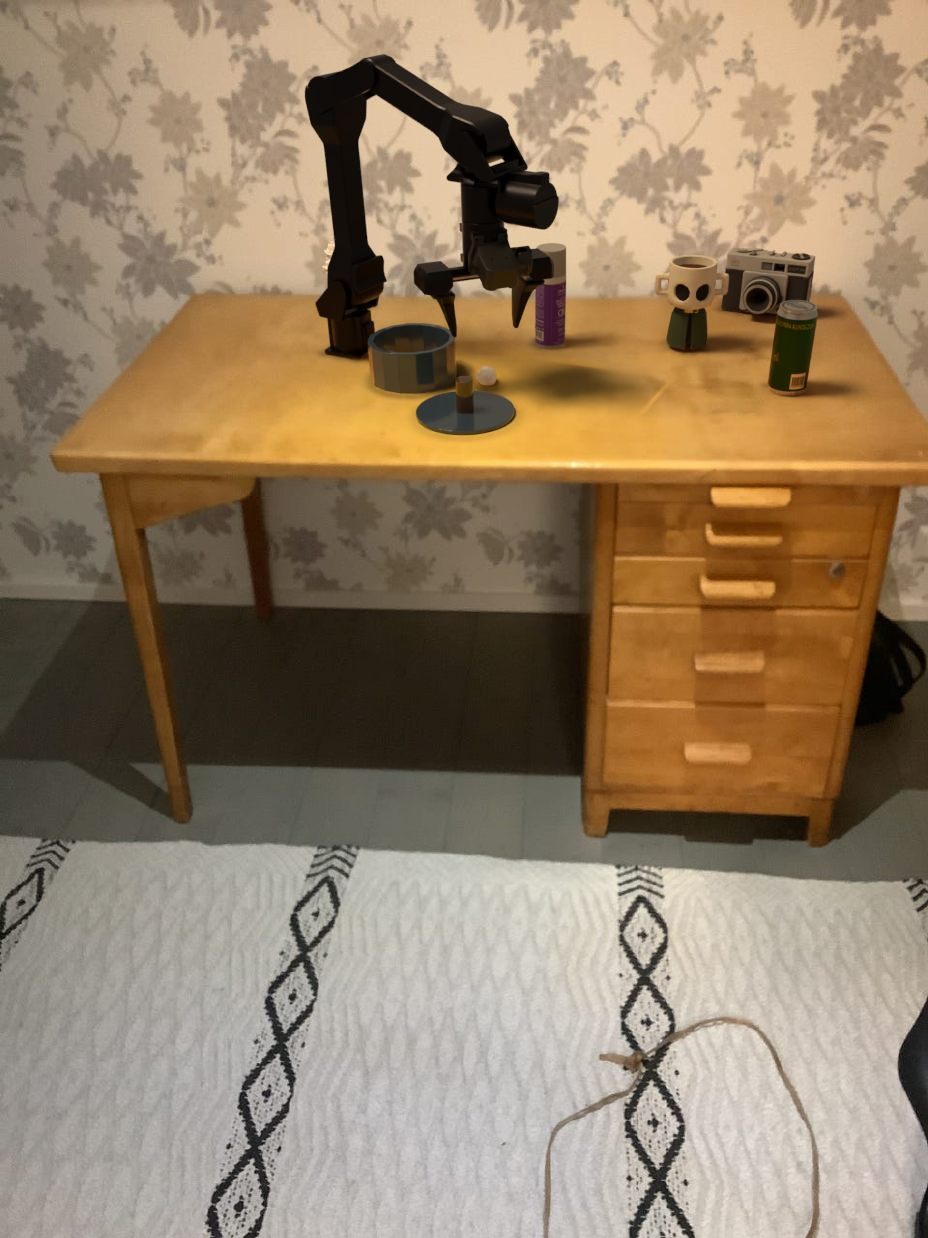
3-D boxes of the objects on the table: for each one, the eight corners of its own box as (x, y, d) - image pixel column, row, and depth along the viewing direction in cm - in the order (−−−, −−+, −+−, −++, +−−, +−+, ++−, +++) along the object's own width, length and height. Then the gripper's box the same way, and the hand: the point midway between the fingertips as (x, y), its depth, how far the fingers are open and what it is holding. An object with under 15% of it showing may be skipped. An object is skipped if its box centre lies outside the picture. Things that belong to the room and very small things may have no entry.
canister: (355, 389, 160) (351, 347, 156) (397, 359, 169) (395, 318, 165) (431, 402, 155) (429, 359, 151) (470, 370, 164) (469, 329, 160)
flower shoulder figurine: (336, 299, 193) (329, 230, 186) (358, 300, 192) (352, 230, 185) (323, 317, 185) (315, 245, 179) (345, 317, 185) (338, 246, 178)
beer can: (814, 391, 153) (827, 308, 147) (783, 399, 152) (795, 315, 145) (789, 378, 157) (801, 296, 151) (759, 386, 156) (769, 303, 149)
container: (562, 349, 170) (564, 252, 161) (533, 348, 171) (533, 251, 162) (566, 338, 173) (568, 242, 165) (537, 337, 174) (538, 242, 166)
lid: (398, 428, 148) (395, 389, 145) (444, 391, 158) (442, 354, 155) (488, 445, 143) (487, 406, 140) (530, 406, 153) (530, 368, 149)
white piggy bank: (495, 390, 158) (494, 371, 156) (475, 389, 158) (474, 370, 156) (498, 382, 160) (497, 363, 158) (478, 381, 160) (477, 362, 159)
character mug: (651, 353, 167) (657, 268, 160) (650, 337, 173) (655, 254, 166) (723, 354, 166) (733, 268, 159) (720, 337, 172) (728, 254, 164)
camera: (708, 314, 180) (716, 252, 175) (731, 300, 186) (739, 240, 181) (789, 329, 173) (800, 265, 168) (810, 314, 180) (820, 252, 174)
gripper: (433, 242, 137) (439, 361, 146) (571, 225, 141) (568, 341, 150) (409, 220, 146) (415, 333, 155) (539, 205, 150) (538, 315, 159)
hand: (485, 331), depth 154 cm, fingers open, 9 cm apart
